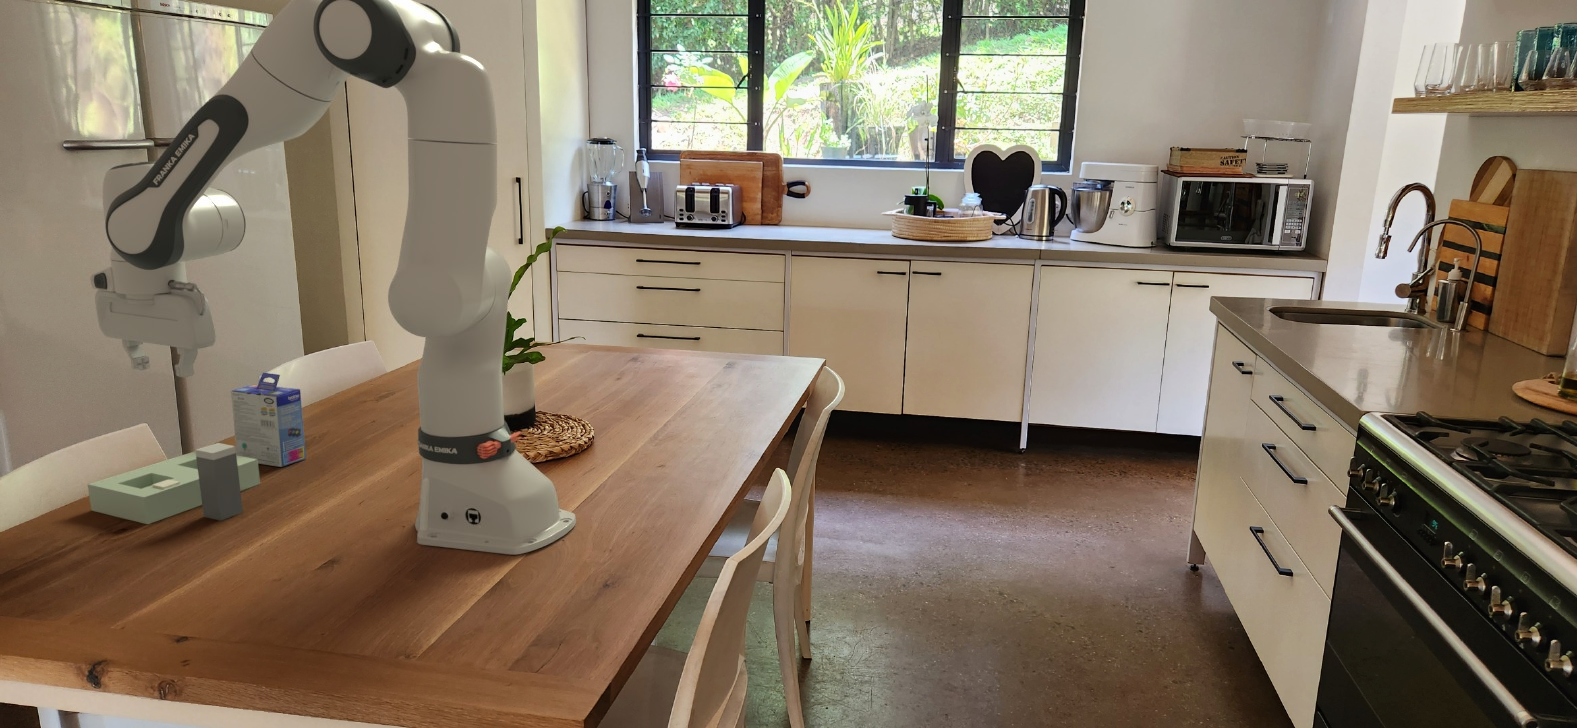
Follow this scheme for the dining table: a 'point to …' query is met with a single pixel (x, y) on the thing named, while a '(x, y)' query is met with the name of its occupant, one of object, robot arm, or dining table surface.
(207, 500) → the plug
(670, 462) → the dining table surface
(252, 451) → the ink cartridge box
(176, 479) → the socket board
